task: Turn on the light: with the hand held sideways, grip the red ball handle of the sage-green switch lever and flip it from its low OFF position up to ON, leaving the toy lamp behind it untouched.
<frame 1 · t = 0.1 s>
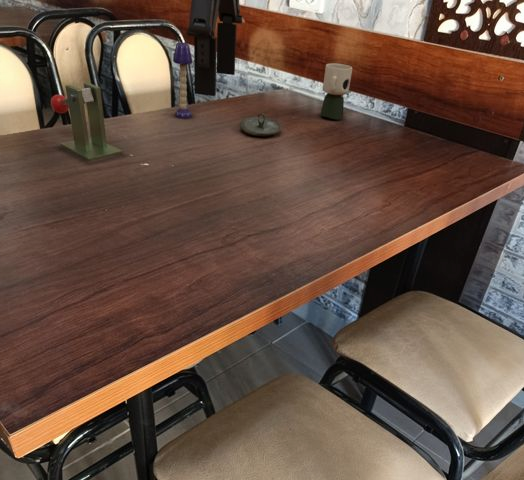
hand: (216, 83, 72), 21 cm above the table, tool pointing down, fingers open, 13 cm apart
toy lamp: (183, 117, 132), on the table
character mug: (331, 119, 141), on the table
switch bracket: (91, 152, 107), on the table
lever: (71, 100, 104), point 9 cm above the table, hinge at -20.0°
lid: (260, 133, 126), on the table
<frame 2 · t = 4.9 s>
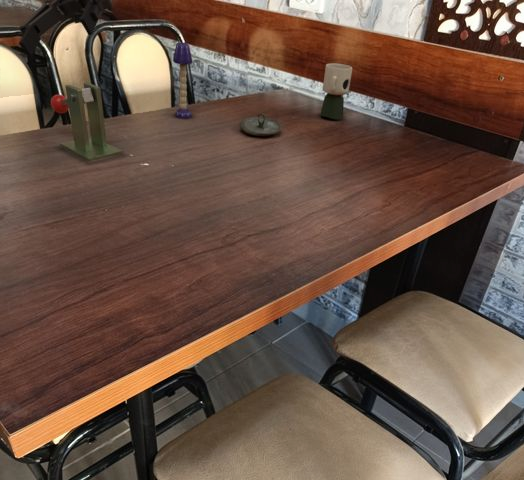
hand: (54, 38, 94), 20 cm above the table, tool tilted 70°, fingers open, 13 cm apart
nothing on the table moved.
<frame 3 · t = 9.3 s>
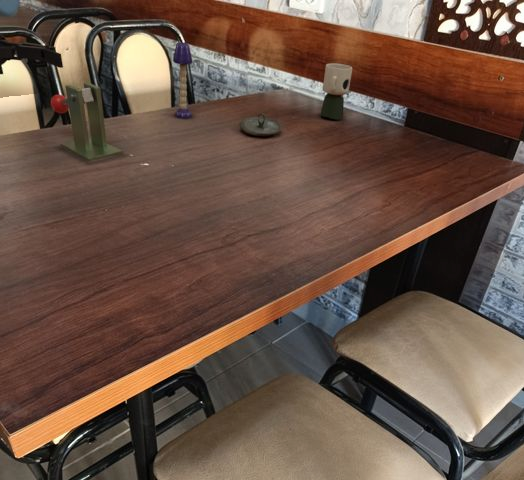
hand: (31, 63, 108), 13 cm above the table, tool horizontal, fingers open, 13 cm apart
nothing on the table moved.
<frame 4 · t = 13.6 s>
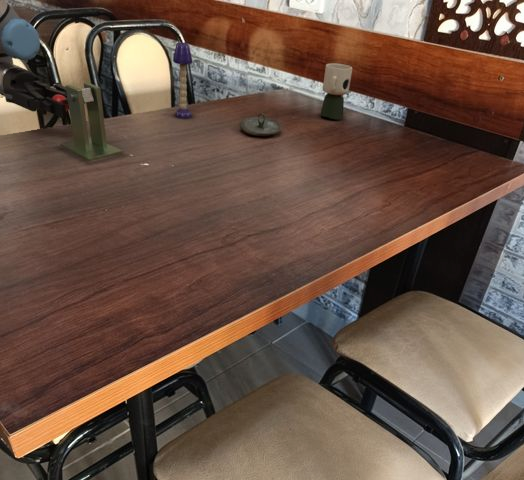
hand: (73, 110, 105), 7 cm above the table, tool horizontal, fingers closed on lever, 4 cm apart
lever: (71, 100, 104), point 9 cm above the table, hinge at -20.0°, touching gripper
everything else where it was.
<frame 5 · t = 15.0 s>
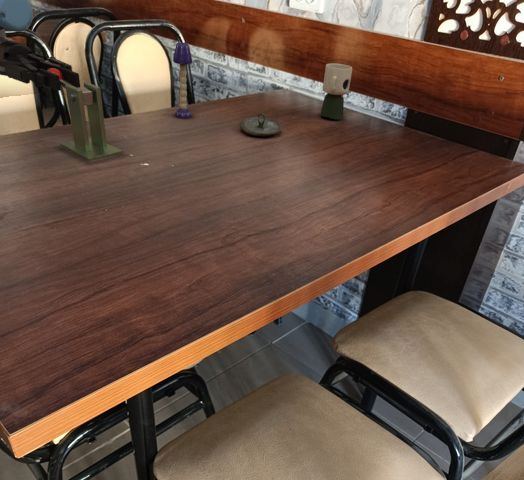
hand: (68, 82, 102), 12 cm above the table, tool horizontal, fingers closed on lever, 4 cm apart
lever: (68, 86, 102), point 12 cm above the table, hinge at 5.8°, touching gripper
everything else where it was.
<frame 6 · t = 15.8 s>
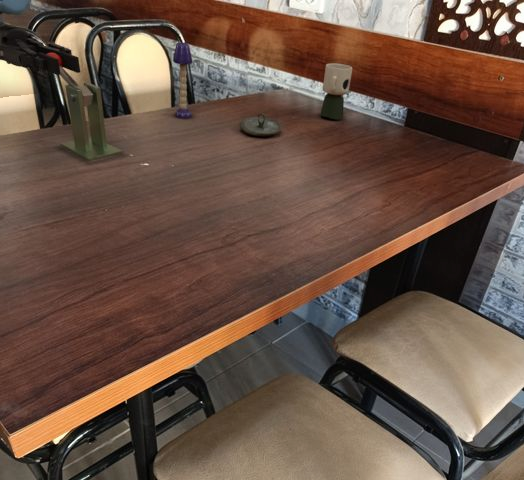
hand: (67, 66, 99), 15 cm above the table, tool horizontal, fingers closed on lever, 4 cm apart
lever: (67, 78, 101), point 13 cm above the table, hinge at 21.2°, touching gripper
everything else where it was.
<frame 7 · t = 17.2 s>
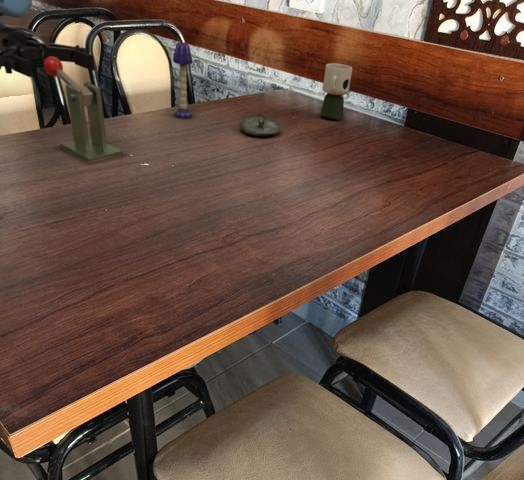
hand: (62, 65, 100), 15 cm above the table, tool horizontal, fingers open, 13 cm apart
lever: (67, 80, 101), point 13 cm above the table, hinge at 17.4°
everything else where it was.
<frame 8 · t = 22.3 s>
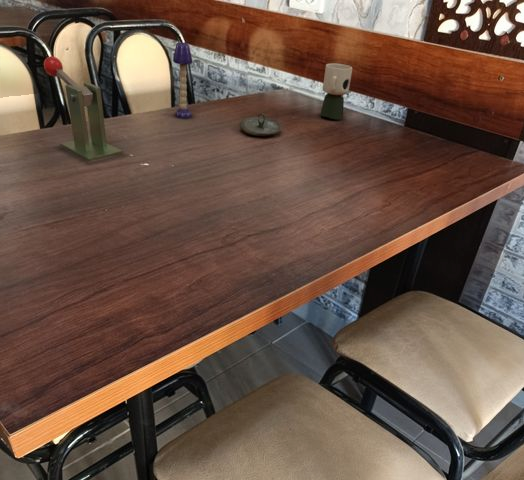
nothing on the table moved.
at the end: lever at +17° (first picture: -20°); the gripper is holding nothing; toy lamp moved 0.2 cm from its start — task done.
